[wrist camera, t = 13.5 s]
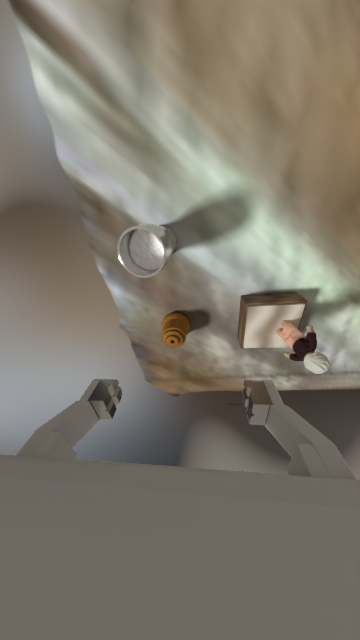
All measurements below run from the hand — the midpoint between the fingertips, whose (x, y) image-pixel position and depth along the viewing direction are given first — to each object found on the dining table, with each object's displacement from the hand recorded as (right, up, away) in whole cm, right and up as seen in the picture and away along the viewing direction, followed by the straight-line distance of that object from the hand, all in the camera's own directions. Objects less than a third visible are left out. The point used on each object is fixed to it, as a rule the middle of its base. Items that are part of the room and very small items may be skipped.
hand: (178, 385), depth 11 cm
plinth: (+21, +5, +31) cm, 38 cm away
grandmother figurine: (+23, +3, +26) cm, 35 cm away
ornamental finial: (-1, +3, +35) cm, 35 cm away
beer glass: (-4, +21, +25) cm, 33 cm away
